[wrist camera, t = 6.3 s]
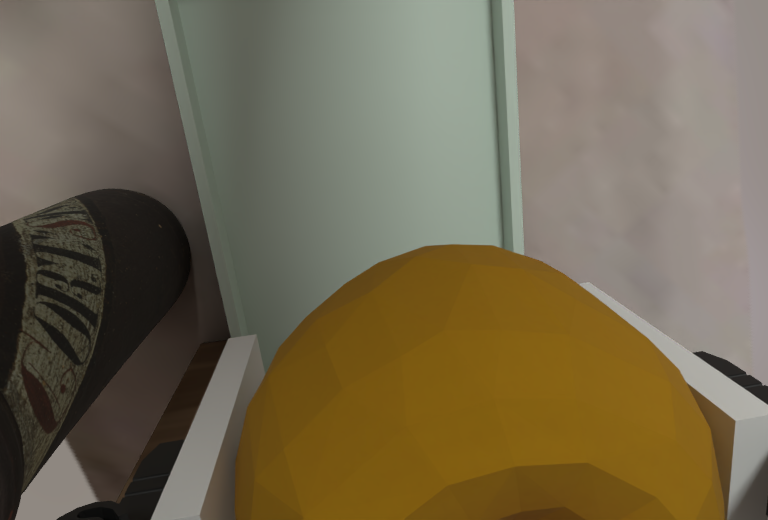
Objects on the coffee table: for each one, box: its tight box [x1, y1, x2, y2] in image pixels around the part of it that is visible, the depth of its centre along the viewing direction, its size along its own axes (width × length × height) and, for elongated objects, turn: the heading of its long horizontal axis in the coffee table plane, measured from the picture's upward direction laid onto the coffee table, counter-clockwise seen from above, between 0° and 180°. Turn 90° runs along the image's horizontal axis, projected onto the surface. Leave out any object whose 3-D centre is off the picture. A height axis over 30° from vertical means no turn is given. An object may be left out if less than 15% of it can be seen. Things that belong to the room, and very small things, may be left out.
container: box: [0, 189, 190, 520], centre depth 21 cm, size 9×9×20 cm
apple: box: [235, 244, 725, 520], centre depth 11 cm, size 9×8×9 cm
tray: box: [155, 0, 524, 374], centre depth 29 cm, size 24×17×2 cm
